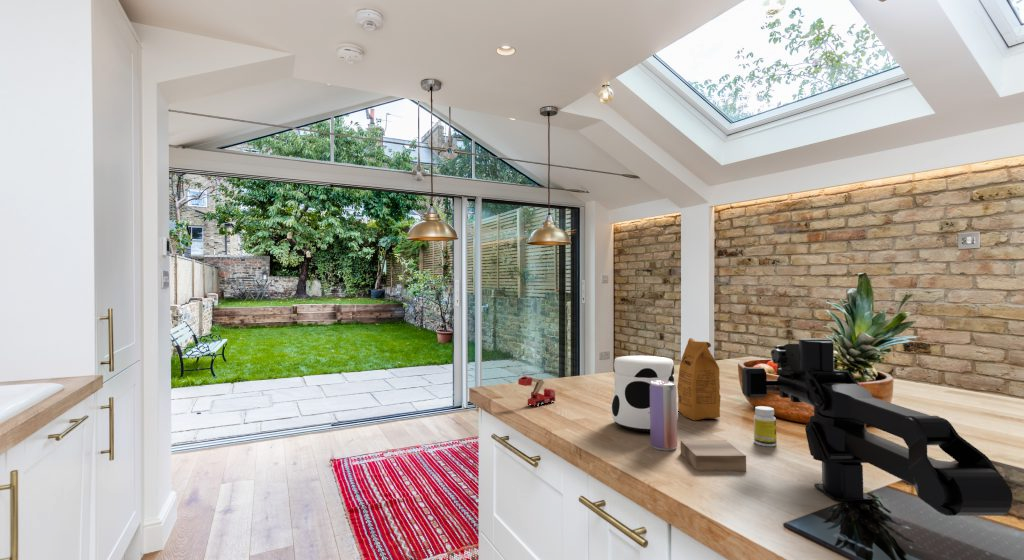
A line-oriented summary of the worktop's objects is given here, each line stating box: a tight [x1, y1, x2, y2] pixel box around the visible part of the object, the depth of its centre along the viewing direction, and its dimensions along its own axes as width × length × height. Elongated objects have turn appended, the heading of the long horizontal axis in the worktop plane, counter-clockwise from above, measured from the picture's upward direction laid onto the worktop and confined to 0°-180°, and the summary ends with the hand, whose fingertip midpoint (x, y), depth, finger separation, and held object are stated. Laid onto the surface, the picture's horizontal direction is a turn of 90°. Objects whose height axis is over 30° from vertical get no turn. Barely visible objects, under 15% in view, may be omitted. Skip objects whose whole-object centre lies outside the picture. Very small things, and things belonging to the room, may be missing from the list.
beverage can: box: [649, 380, 678, 452], centre depth 112 cm, size 6×6×15 cm
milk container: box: [610, 355, 679, 433], centre depth 129 cm, size 17×17×18 cm
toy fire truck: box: [517, 375, 556, 405], centre depth 154 cm, size 3×14×10 cm, turn 130°
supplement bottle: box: [753, 405, 777, 447], centre depth 114 cm, size 5×5×8 cm
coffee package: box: [676, 337, 721, 421], centre depth 139 cm, size 10×12×22 cm
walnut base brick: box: [680, 439, 747, 472], centre depth 103 cm, size 10×10×3 cm
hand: (768, 375), depth 112 cm, fingers open, 9 cm apart
